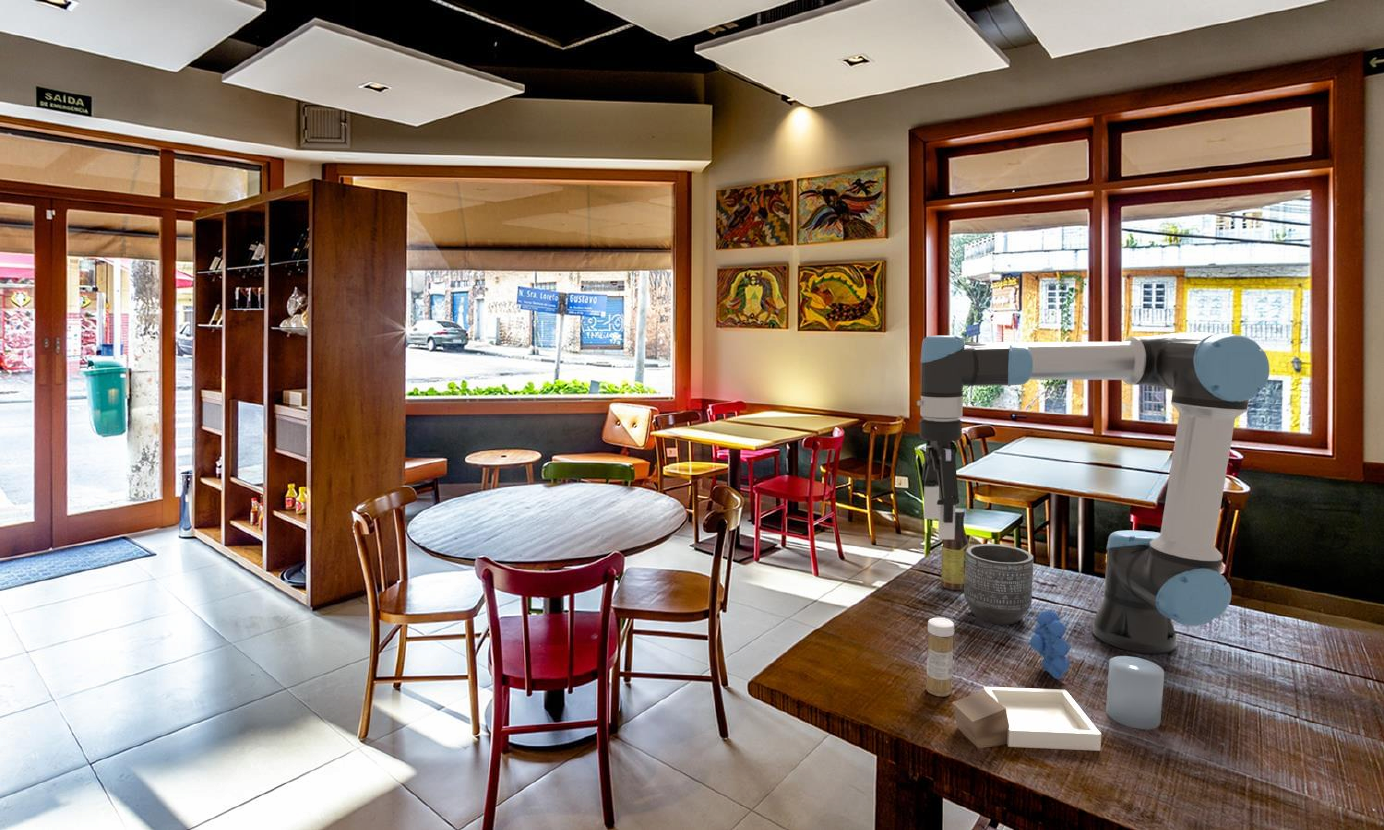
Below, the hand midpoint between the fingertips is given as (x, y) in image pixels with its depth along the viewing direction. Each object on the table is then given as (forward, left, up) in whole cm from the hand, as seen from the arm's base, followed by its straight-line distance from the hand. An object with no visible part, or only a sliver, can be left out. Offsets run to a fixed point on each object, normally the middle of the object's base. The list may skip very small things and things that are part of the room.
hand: (938, 528), depth 141 cm
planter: (-20, -26, -28) cm, 43 cm away
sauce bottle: (-15, -44, -28) cm, 54 cm away
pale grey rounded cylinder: (-30, +15, -28) cm, 43 cm away
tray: (-13, +20, -28) cm, 37 cm away
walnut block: (-3, +24, -28) cm, 37 cm away
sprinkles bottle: (+1, +10, -28) cm, 30 cm away
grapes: (-21, +1, -28) cm, 35 cm away
